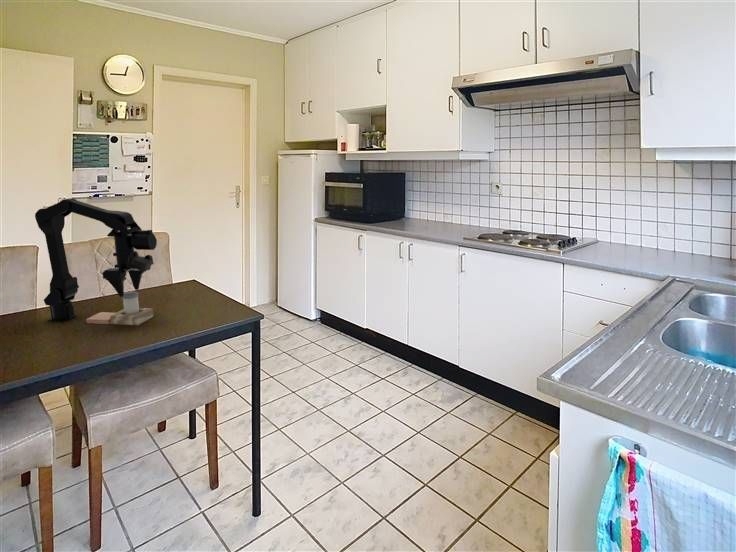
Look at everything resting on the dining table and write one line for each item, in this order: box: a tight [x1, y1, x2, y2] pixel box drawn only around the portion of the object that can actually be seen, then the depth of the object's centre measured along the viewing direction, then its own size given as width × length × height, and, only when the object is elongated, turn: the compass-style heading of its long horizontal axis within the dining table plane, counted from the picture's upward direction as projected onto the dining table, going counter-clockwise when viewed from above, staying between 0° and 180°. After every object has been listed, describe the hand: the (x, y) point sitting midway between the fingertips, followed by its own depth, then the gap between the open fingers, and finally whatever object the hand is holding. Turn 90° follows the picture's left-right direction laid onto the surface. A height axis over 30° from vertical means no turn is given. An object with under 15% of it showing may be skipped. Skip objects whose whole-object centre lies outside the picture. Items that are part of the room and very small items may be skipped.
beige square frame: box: [110, 307, 154, 326], centre depth 172 cm, size 10×10×3 cm
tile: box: [85, 311, 116, 325], centre depth 172 cm, size 8×8×2 cm
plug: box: [121, 290, 140, 315], centre depth 171 cm, size 5×5×10 cm
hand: (129, 293), depth 170 cm, fingers open, 9 cm apart
